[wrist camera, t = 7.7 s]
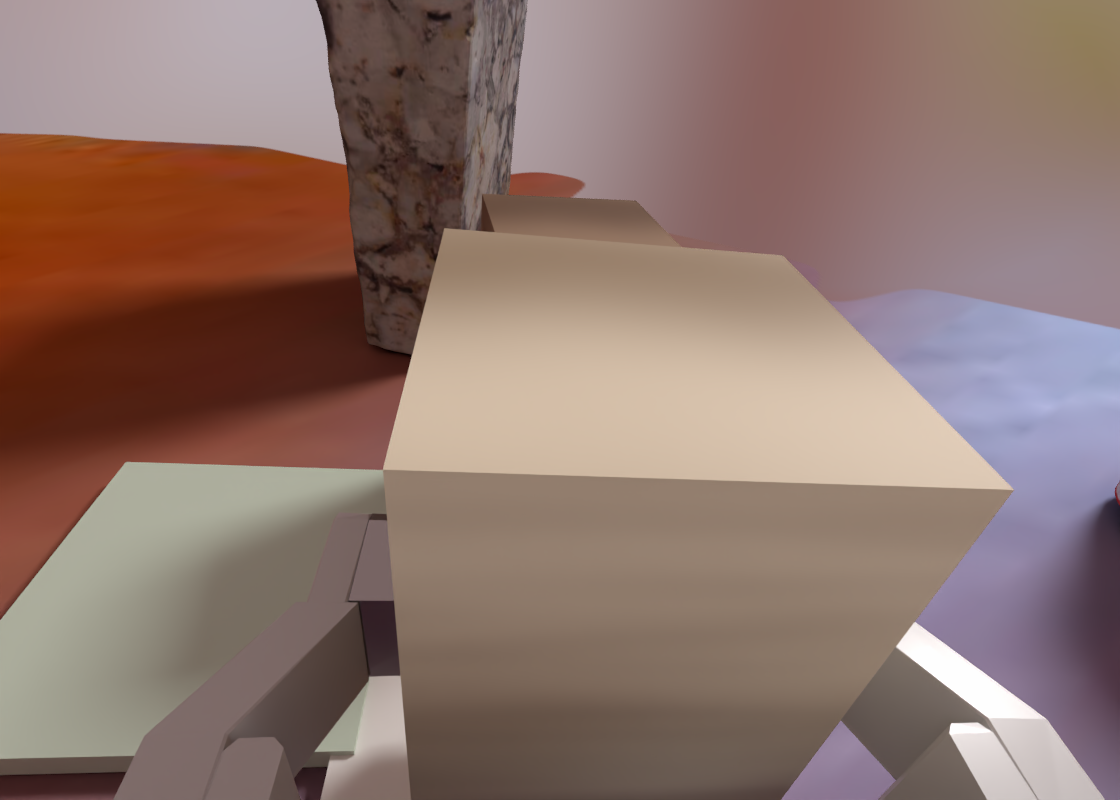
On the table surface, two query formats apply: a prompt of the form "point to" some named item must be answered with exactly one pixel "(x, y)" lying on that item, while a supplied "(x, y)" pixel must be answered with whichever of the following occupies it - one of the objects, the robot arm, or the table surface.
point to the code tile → (374, 750)
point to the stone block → (419, 136)
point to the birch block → (652, 521)
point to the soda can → (1117, 493)
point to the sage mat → (162, 605)
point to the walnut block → (572, 219)
